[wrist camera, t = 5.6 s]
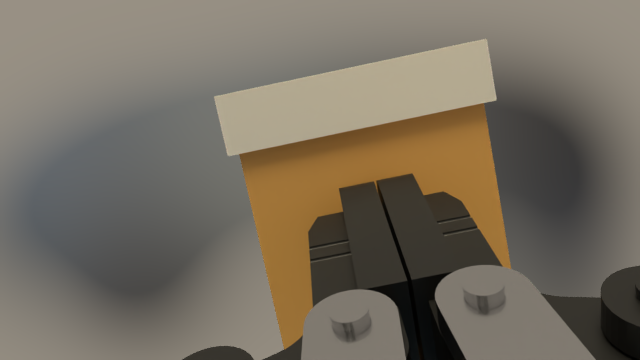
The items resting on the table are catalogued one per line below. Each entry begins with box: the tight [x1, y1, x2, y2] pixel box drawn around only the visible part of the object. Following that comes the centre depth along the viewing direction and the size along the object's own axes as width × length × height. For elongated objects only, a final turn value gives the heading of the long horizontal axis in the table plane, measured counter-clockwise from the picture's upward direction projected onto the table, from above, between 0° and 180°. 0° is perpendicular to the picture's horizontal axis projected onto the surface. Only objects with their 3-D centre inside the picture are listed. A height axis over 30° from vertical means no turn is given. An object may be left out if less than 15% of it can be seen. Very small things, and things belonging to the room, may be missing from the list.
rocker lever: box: [214, 39, 511, 349], centre depth 13 cm, size 5×3×13 cm, turn 93°
